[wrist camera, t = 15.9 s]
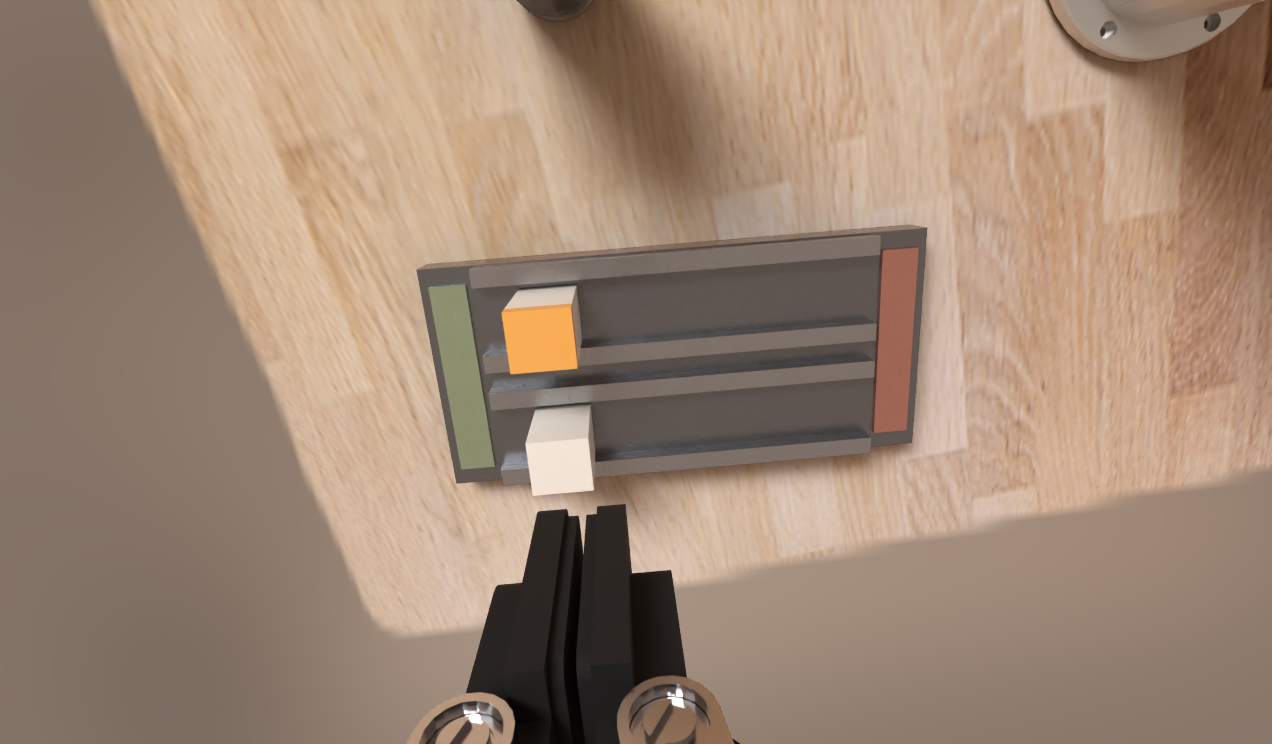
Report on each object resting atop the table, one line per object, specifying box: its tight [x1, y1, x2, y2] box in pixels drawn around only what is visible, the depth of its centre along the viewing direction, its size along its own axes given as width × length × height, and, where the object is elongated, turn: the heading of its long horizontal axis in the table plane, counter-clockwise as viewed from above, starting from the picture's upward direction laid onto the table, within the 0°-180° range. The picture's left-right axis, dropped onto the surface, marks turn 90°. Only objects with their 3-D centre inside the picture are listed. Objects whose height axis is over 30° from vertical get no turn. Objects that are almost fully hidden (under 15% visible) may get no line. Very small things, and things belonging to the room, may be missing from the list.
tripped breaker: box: [502, 285, 582, 374], centre depth 32 cm, size 3×3×6 cm
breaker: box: [525, 403, 595, 496], centre depth 34 cm, size 3×3×5 cm
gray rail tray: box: [417, 225, 927, 486], centre depth 36 cm, size 28×13×3 cm, turn 94°
